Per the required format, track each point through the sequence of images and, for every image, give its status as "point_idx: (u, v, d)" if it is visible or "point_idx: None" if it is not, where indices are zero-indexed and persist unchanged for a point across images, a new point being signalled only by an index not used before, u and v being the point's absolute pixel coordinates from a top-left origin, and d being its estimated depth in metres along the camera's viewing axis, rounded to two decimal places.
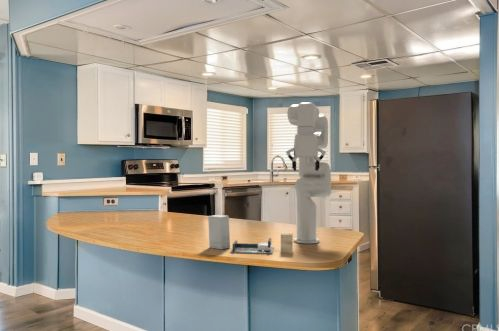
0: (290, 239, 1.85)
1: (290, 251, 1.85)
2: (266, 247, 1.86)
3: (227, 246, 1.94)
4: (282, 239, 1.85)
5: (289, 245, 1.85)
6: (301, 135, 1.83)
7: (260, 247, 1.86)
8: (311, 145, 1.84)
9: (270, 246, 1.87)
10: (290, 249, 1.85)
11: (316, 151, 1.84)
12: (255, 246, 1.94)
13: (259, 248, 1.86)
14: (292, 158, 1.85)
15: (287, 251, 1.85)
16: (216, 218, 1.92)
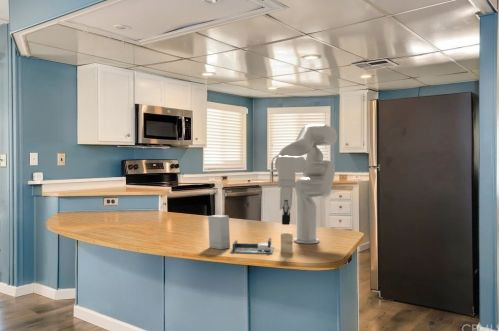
0: (290, 239, 1.85)
1: (290, 251, 1.85)
2: (266, 247, 1.86)
3: (227, 246, 1.94)
4: (282, 239, 1.85)
5: (289, 245, 1.85)
6: (291, 188, 1.84)
7: (260, 247, 1.86)
8: None
9: (270, 246, 1.87)
10: (290, 249, 1.85)
11: None
12: (255, 246, 1.94)
13: (259, 248, 1.86)
14: None
15: (287, 251, 1.85)
16: (216, 218, 1.92)
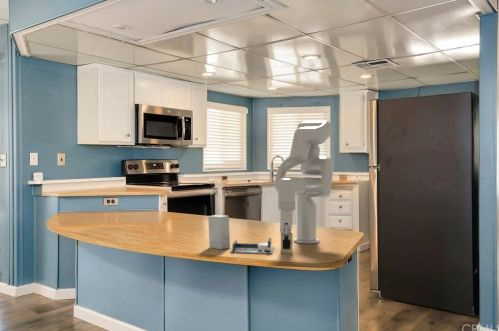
0: (290, 239, 1.85)
1: (290, 251, 1.85)
2: (266, 247, 1.86)
3: (227, 246, 1.94)
4: (282, 239, 1.85)
5: None
6: (291, 211, 1.85)
7: (260, 247, 1.86)
8: None
9: (270, 246, 1.87)
10: (290, 249, 1.85)
11: None
12: (255, 246, 1.94)
13: (259, 248, 1.86)
14: (288, 237, 1.83)
15: (287, 251, 1.85)
16: (216, 218, 1.92)
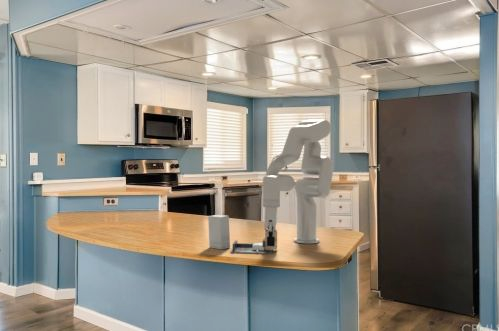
0: (275, 236, 1.86)
1: (274, 248, 1.86)
2: (261, 247, 1.86)
3: (227, 246, 1.94)
4: (266, 236, 1.86)
5: None
6: (276, 208, 1.86)
7: (255, 247, 1.86)
8: None
9: None
10: (274, 246, 1.86)
11: None
12: None
13: (254, 248, 1.86)
14: (272, 235, 1.84)
15: (271, 248, 1.86)
16: (216, 218, 1.92)
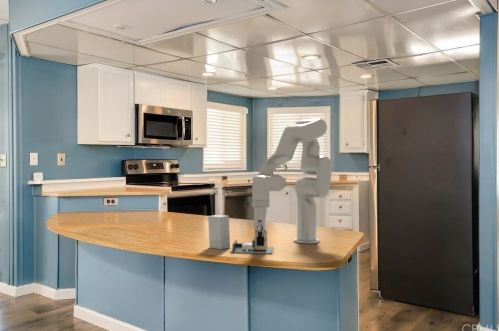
0: (264, 236, 1.86)
1: (264, 248, 1.87)
2: (250, 247, 1.87)
3: (227, 246, 1.94)
4: (256, 236, 1.87)
5: None
6: (265, 208, 1.86)
7: (244, 247, 1.87)
8: None
9: (254, 246, 1.87)
10: (264, 246, 1.87)
11: None
12: None
13: (243, 248, 1.87)
14: (261, 234, 1.85)
15: (261, 248, 1.87)
16: (216, 218, 1.92)
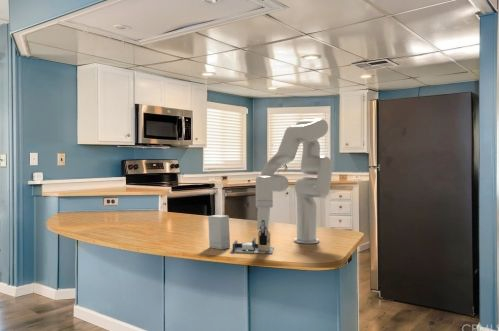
0: (267, 237, 1.86)
1: (267, 249, 1.86)
2: (250, 247, 1.87)
3: (227, 246, 1.94)
4: None
5: None
6: (269, 208, 1.86)
7: (244, 247, 1.87)
8: None
9: (254, 246, 1.87)
10: (267, 247, 1.86)
11: None
12: (255, 246, 1.94)
13: (243, 248, 1.87)
14: None
15: (264, 249, 1.87)
16: (216, 218, 1.92)
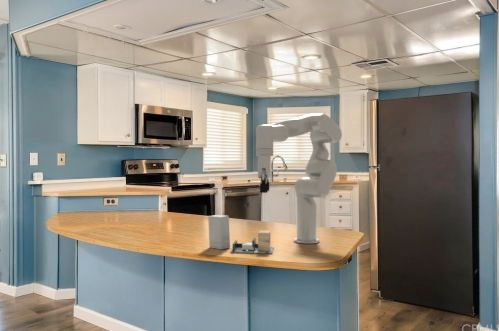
0: (267, 237, 1.86)
1: (267, 249, 1.86)
2: (250, 247, 1.87)
3: (227, 246, 1.94)
4: (259, 237, 1.87)
5: (266, 243, 1.86)
6: (269, 157, 1.86)
7: (244, 247, 1.87)
8: (270, 167, 1.90)
9: (254, 246, 1.87)
10: (267, 247, 1.86)
11: None
12: (255, 246, 1.94)
13: (243, 248, 1.87)
14: (265, 180, 1.83)
15: (264, 249, 1.87)
16: (216, 218, 1.92)
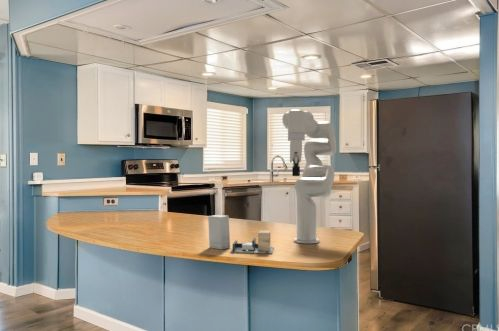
0: (267, 237, 1.86)
1: (267, 249, 1.86)
2: (250, 247, 1.87)
3: (227, 246, 1.94)
4: (259, 237, 1.87)
5: (266, 243, 1.86)
6: (301, 141, 1.89)
7: (244, 247, 1.87)
8: None
9: (254, 246, 1.87)
10: (267, 247, 1.86)
11: None
12: (255, 246, 1.94)
13: (243, 248, 1.87)
14: (297, 164, 1.86)
15: (264, 249, 1.87)
16: (216, 218, 1.92)
